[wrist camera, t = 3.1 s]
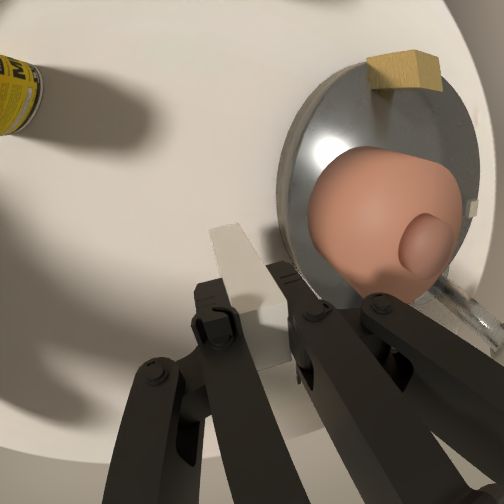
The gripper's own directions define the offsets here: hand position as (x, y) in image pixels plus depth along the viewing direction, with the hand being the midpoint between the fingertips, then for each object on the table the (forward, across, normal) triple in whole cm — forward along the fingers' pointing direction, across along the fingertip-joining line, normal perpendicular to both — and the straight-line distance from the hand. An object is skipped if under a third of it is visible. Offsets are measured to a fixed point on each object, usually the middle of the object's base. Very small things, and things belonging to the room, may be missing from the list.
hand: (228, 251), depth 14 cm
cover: (+1, +9, 0) cm, 9 cm away
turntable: (+4, +14, 0) cm, 14 cm away
